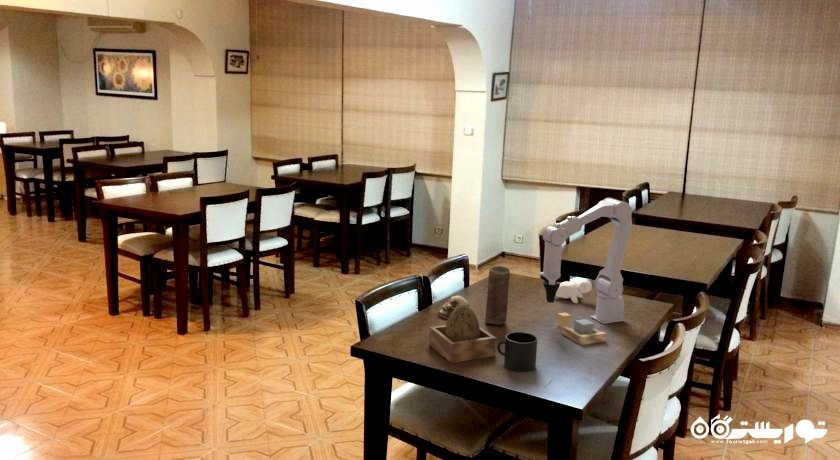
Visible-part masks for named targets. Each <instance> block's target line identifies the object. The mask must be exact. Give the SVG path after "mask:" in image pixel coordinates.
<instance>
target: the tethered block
mask: <svg viewBox="0 0 840 460" xmlns="http://www.w3.org/2000/svg"><path fill="white" fill-rule="evenodd" d="M571 317H572V315H571V314H570V313H567V312H559V313H557V320H556V326H557V327H559V328H561V326H566V327H568V328H570V329H572V330H574V331H575V332H577V333H579V334H581V335H585V334H591V333H593V330H594V329H595V322H592V321H591V320H589V319H587V318H583V319H576V320H574V326H573V328H572V327H571V319H572V318H571Z"/></svg>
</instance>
